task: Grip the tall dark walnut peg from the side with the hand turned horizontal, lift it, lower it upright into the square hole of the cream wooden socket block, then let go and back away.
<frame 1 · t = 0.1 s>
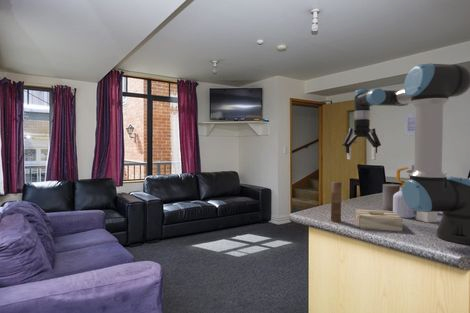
hand: (361, 159, 161), 28 cm above the worktop, tool pointing down, fingers open, 13 cm apart
socket block: (377, 225, 135), on the worktop
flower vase: (425, 212, 164), on the worktop
pillar candle: (391, 209, 170), on the worktop
peg: (335, 220, 142), on the worktop
soap bottle: (402, 216, 153), on the worktop
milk: (426, 221, 143), on the worktop
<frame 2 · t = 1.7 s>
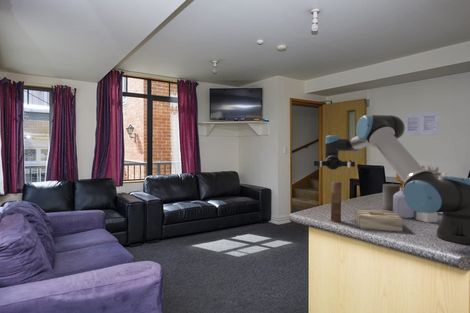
hand: (335, 164, 151), 26 cm above the worktop, tool horizontal, fingers open, 13 cm apart
nothing on the worktop moved.
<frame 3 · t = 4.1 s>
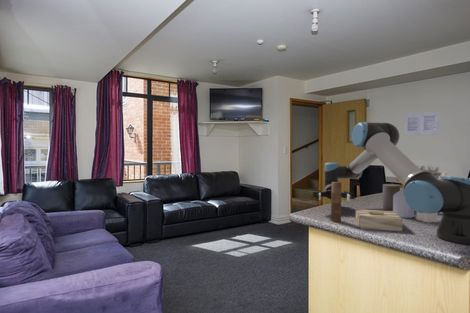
hand: (334, 197, 148), 10 cm above the worktop, tool horizontal, fingers open, 13 cm apart
nothing on the worktop moved.
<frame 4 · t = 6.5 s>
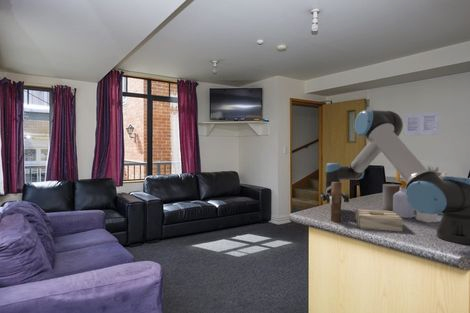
hand: (336, 201, 137), 10 cm above the worktop, tool horizontal, fingers closed on peg, 4 cm apart
peg: (335, 220, 142), on the worktop, touching gripper
everything else where it was.
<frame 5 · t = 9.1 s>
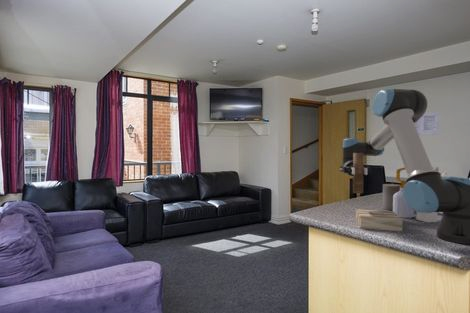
hand: (360, 171, 133), 24 cm above the worktop, tool horizontal, fingers closed on peg, 4 cm apart
peg: (357, 192, 139), point 14 cm above the worktop, touching gripper
everything else where it was.
when the fingers open (12 cm above the worktop, at t = 11.9 s): peg drops 2 cm, resting in socket block.
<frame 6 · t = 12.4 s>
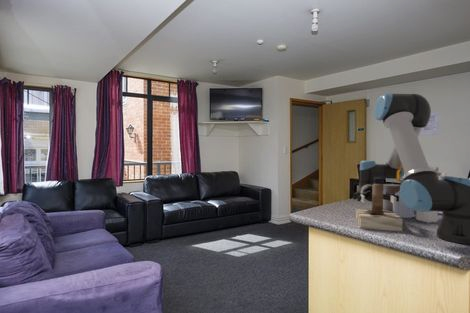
hand: (379, 200, 131), 12 cm above the worktop, tool horizontal, fingers open, 12 cm apart
peg: (376, 224, 135), resting in socket block
soap bottle: (402, 216, 153), on the worktop, touching arm
everything else where it was.
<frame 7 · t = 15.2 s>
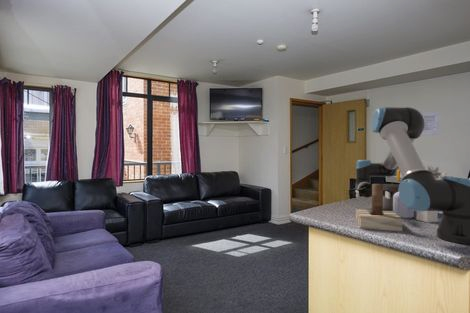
hand: (373, 195, 144), 12 cm above the worktop, tool horizontal, fingers open, 13 cm apart
soap bottle: (402, 216, 153), on the worktop
everything else where it was.
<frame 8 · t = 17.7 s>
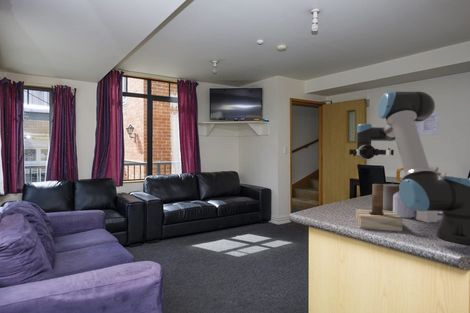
hand: (374, 152, 143), 32 cm above the worktop, tool horizontal, fingers open, 13 cm apart
nothing on the worktop moved.
at the end: peg 0.3 cm off-centre on the socket block, point 0.0 cm above the socket block's base; peg tilted 0°; the gripper is holding nothing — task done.
